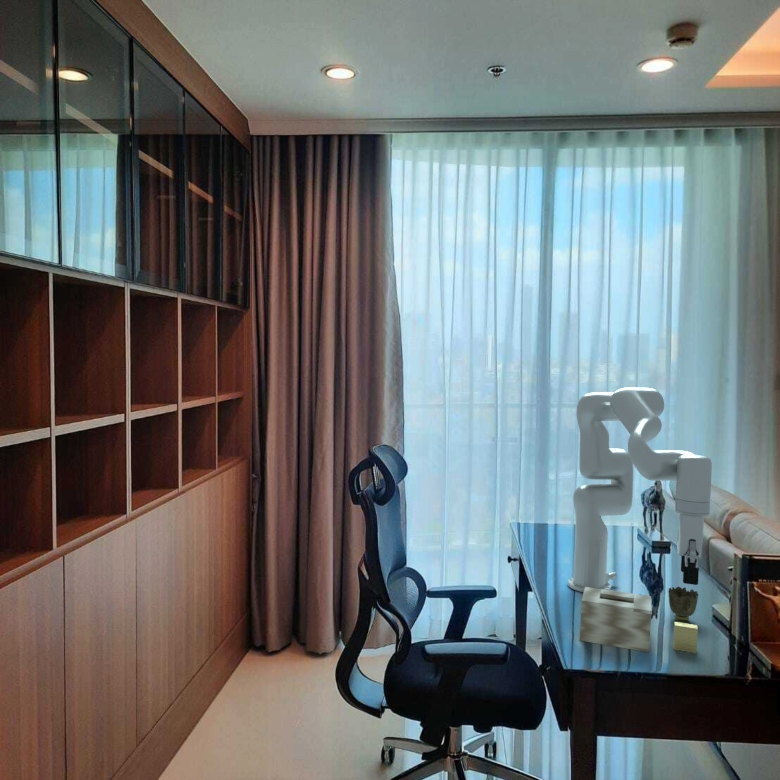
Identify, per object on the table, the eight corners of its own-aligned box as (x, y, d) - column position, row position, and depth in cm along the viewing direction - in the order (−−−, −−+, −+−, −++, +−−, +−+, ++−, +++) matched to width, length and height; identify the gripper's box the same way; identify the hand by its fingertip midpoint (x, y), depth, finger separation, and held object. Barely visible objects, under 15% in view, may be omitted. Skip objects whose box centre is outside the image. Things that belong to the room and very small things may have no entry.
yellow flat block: (695, 649, 163) (697, 625, 163) (696, 653, 161) (697, 628, 161) (673, 645, 165) (674, 621, 165) (673, 649, 163) (675, 625, 162)
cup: (662, 619, 182) (663, 590, 181) (673, 612, 187) (675, 584, 187) (690, 628, 176) (691, 597, 176) (701, 621, 182) (702, 591, 181)
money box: (649, 635, 171) (651, 596, 170) (649, 652, 160) (651, 610, 160) (583, 624, 176) (585, 586, 176) (579, 640, 166) (581, 600, 166)
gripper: (673, 499, 171) (670, 566, 171) (676, 512, 154) (673, 586, 155) (706, 502, 168) (703, 570, 169) (713, 515, 152) (709, 591, 152)
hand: (689, 577), depth 162 cm, fingers open, 9 cm apart
